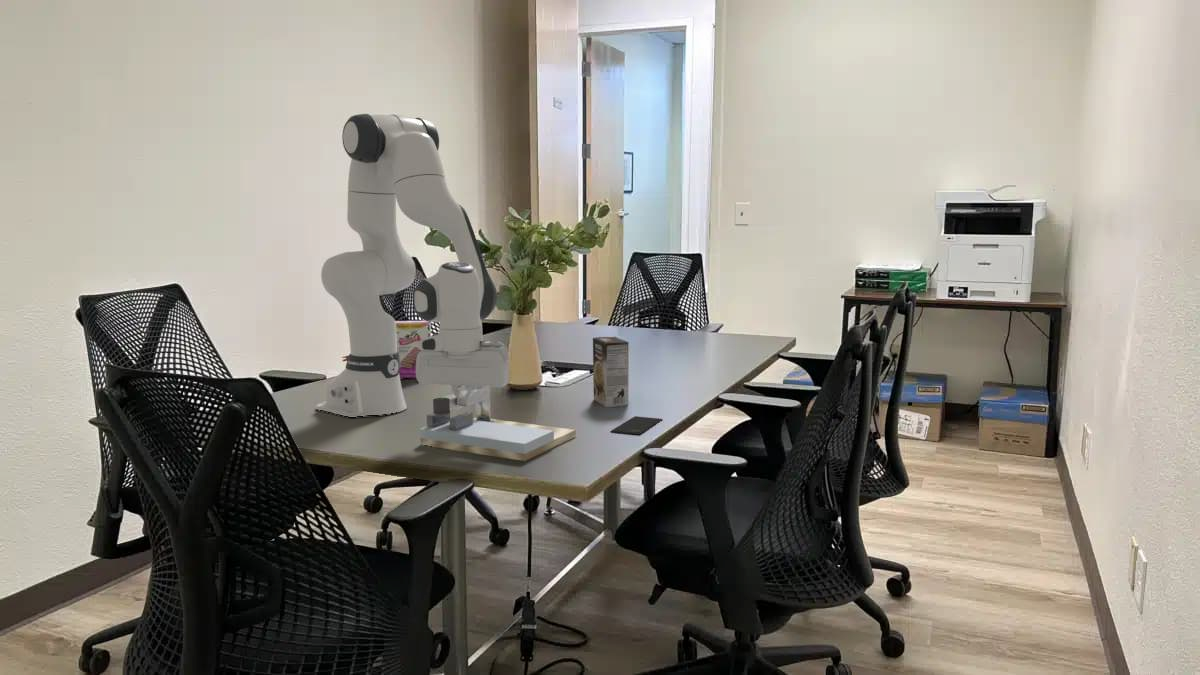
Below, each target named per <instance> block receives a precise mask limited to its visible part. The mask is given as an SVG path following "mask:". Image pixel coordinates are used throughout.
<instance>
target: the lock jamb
mask: <svg viewBox="0 0 1200 675" xmlns="http://www.w3.org/2000/svg"><path fill="white" fill-rule="evenodd" d="M473 416H474V415H473V412H469V411H465V412H463V413H461V414H457V415H454V416H452V417H451V412H450V413H448V414H442V415H438V414H434V412H432V413H429V414H427V415H426V426H424V427H422V428H420V429H419V432H420V433H419V434H420V436H419V438H420V445H421V444H422V445H421V446H424V445H428V446H427V447H430V446H432V447H431V448H437V449H438V448H439V449H443V450H444V449H445V450H451V451H457V452H464V453H469V454H475V455H476V454H477V455H483V456H490V457H495V458H502V459H510V460H516V461H522V462H526V461H529V460H531V459H532V458H534V457H537V456H539V455H541V454H543V453H545V452H547V451H549V450H551V449H554V448H555V447H557V446H559V445H562V444H563V443H566V442H568V441H570V440H572V439H573V438H575V437H576V434H577V433H576V429H572V428H571V429H570V428H564V427H555V426H547V425H539V424H534V423H533V424H532V423H527V422H526V423H525V422H518V421H509V420H501V419H495V418H491V421H489V422H485V421H477V420H476V417H473Z"/></svg>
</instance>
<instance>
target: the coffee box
mask: <svg viewBox="0 0 1200 675" xmlns="http://www.w3.org/2000/svg"><path fill="white" fill-rule="evenodd" d="M629 346H630V345H629V341H626V340H624V339H621V338H619V337H617V336H599V337H592V361H593V362H592V363H593V364H592V367H593V368H592V370H593V371H592V372H593V375H592V376H593V378H592V379H593V400H594V401H595V402H596V403H599V404H600V405H602V406H603V407H605V408H611V407H623V406H629V365H630V364H629V353H630V352H629Z"/></svg>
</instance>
